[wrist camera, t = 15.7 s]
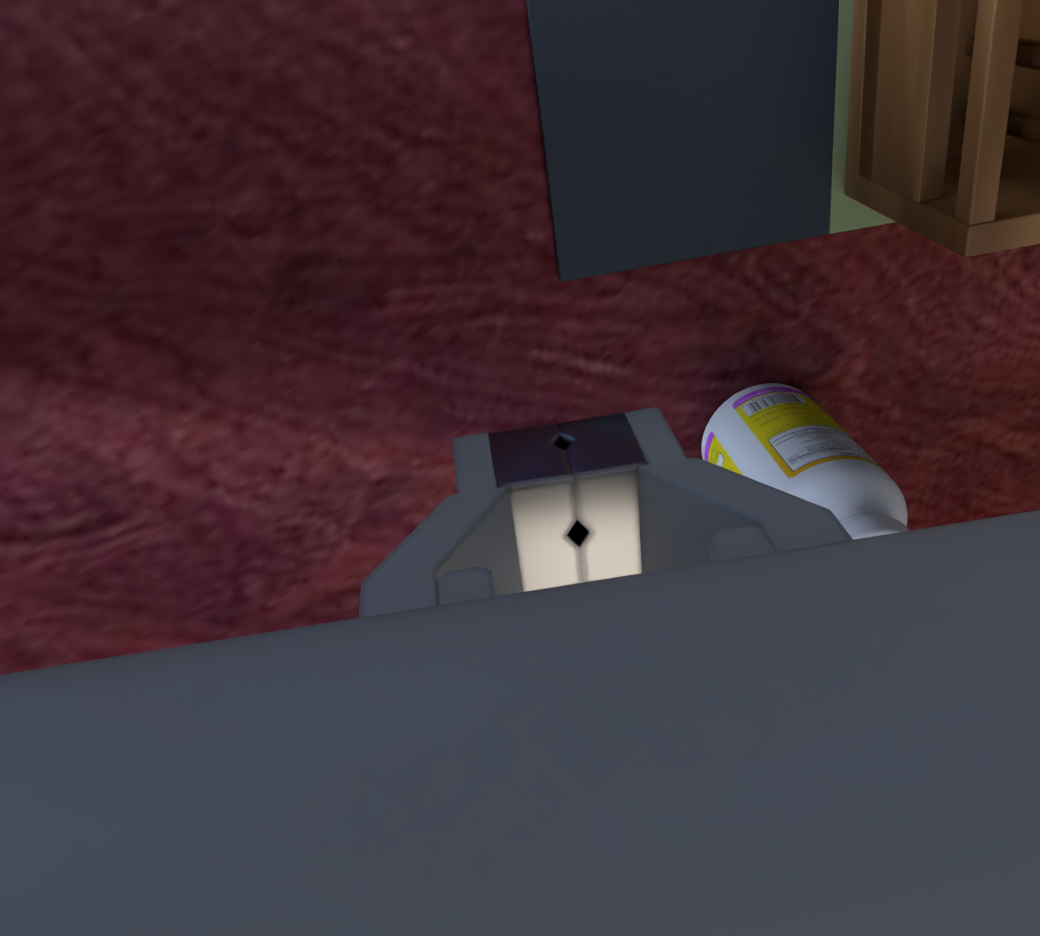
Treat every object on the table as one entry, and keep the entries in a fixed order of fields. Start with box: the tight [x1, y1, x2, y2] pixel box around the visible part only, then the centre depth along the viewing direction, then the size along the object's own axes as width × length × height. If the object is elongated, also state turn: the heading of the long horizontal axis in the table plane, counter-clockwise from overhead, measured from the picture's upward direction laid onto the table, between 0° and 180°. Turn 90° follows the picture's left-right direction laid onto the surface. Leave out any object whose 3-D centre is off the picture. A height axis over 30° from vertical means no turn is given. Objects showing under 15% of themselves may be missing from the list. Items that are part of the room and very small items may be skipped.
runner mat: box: [526, 0, 896, 282], centre depth 38 cm, size 24×18×1 cm
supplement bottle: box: [702, 383, 910, 540], centre depth 42 cm, size 7×7×13 cm
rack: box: [845, 0, 1040, 257], centre depth 34 cm, size 10×14×10 cm
